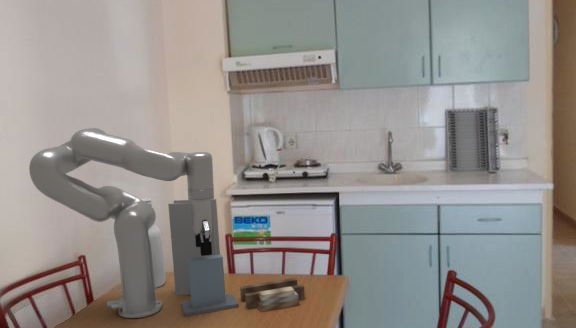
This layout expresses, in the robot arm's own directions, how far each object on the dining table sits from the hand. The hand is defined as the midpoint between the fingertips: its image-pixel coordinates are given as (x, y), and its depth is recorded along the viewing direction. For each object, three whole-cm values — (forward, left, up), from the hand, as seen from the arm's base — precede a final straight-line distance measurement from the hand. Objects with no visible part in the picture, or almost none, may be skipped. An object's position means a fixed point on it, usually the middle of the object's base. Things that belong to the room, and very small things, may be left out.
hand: (203, 250), depth 155 cm
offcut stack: (+20, -9, -17) cm, 28 cm away
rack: (+20, -3, -17) cm, 26 cm away
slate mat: (+1, 0, -17) cm, 17 cm away
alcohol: (-14, +28, -18) cm, 36 cm away
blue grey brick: (0, 0, -16) cm, 16 cm away
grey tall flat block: (0, +14, -18) cm, 22 cm away
